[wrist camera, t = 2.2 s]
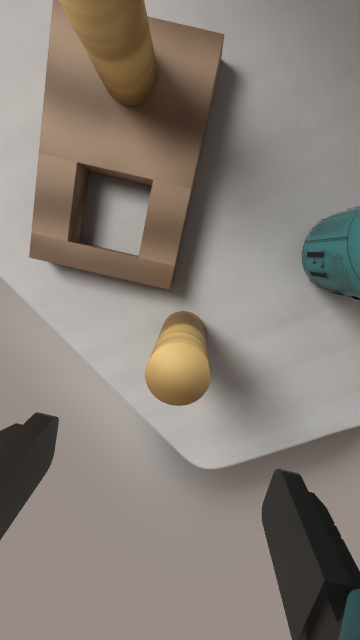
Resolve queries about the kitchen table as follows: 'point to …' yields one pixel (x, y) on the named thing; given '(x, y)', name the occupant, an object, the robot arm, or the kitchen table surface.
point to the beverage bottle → (335, 253)
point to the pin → (179, 361)
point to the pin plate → (121, 129)
